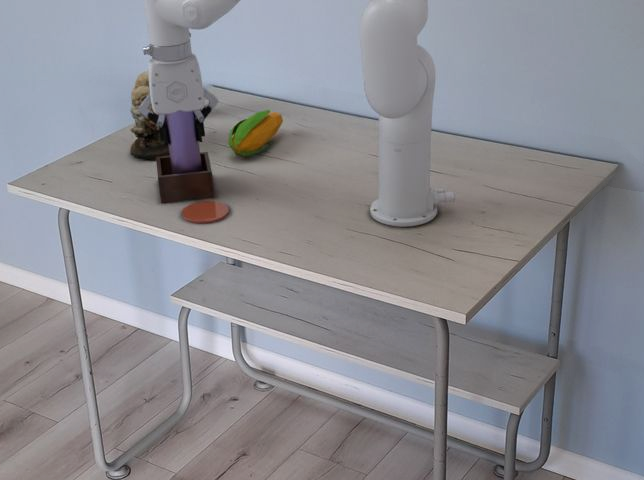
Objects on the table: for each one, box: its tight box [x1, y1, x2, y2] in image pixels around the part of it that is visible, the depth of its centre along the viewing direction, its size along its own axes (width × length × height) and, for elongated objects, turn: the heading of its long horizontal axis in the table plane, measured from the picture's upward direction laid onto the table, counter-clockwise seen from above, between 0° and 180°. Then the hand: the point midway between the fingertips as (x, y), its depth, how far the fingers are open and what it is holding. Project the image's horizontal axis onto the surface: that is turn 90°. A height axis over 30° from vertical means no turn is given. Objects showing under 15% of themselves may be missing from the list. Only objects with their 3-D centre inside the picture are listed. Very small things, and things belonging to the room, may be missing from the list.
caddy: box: [155, 151, 215, 204], centre depth 206 cm, size 11×11×6 cm
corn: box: [227, 109, 284, 158], centre depth 223 cm, size 7×8×20 cm
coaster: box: [181, 200, 230, 224], centre depth 198 cm, size 9×9×1 cm
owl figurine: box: [129, 71, 170, 161], centre depth 222 cm, size 18×12×17 cm, turn 155°
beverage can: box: [165, 110, 202, 174], centre depth 201 cm, size 6×6×15 cm
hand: (183, 141), depth 202 cm, fingers closed on beverage can, 6 cm apart
